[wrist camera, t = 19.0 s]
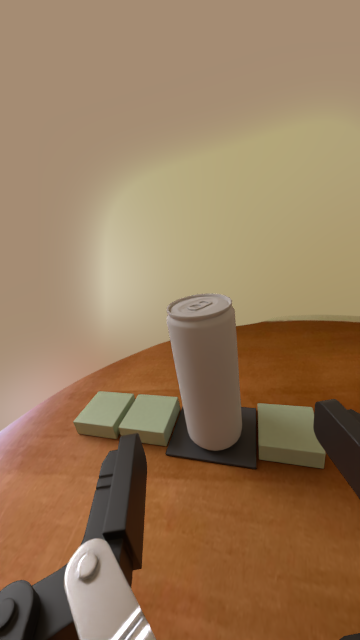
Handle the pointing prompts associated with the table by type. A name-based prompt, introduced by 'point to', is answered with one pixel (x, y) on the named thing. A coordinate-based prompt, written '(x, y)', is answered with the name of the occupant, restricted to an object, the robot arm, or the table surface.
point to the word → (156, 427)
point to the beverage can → (207, 368)
